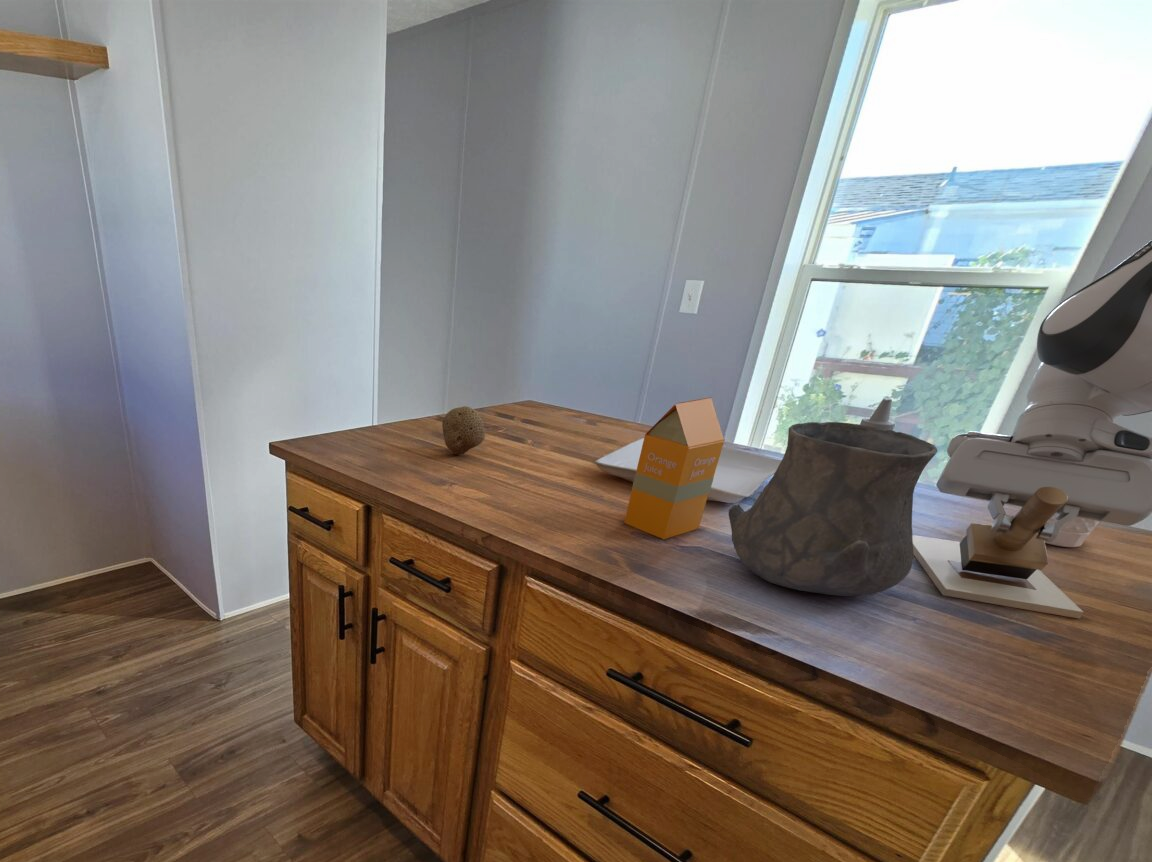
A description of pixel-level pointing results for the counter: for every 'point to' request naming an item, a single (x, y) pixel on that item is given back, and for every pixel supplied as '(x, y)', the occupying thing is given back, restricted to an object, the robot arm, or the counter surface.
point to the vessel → (835, 511)
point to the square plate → (731, 478)
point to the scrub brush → (1013, 539)
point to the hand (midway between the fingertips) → (1022, 534)
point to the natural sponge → (463, 429)
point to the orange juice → (676, 470)
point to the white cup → (1073, 531)
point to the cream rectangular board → (988, 581)
